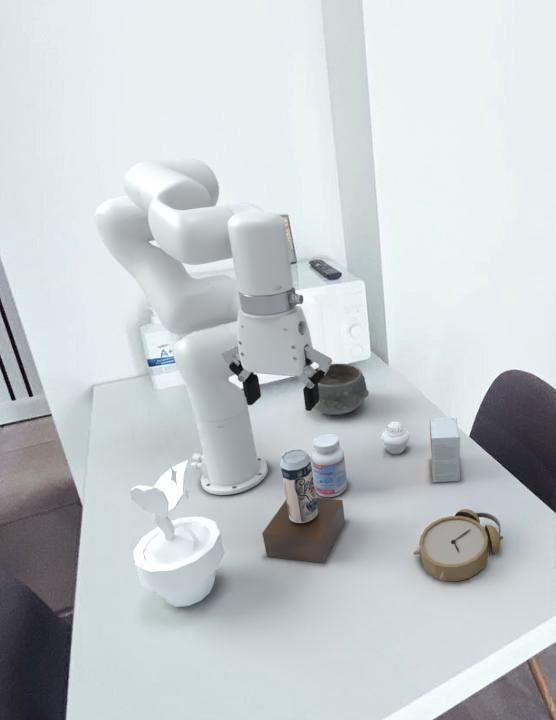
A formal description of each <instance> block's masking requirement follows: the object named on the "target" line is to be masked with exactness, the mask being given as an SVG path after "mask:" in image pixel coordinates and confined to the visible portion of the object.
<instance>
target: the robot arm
mask: <svg viewBox="0 0 556 720" xmlns="http://www.w3.org/2000/svg"><path fill="white" fill-rule="evenodd" d="M123 189H124V192H125V193H126V194H125V195H124V196H117V197H114V198H110V199H108V200H106V201H104V202H102V203H100V204H99V206H98V207H97V208H96V210H95V213H94V221H95V225H96V228H97V231H98V234H99V237H100V238H101V240H102V242H103V244H104V245H105V247H106V249H107V250H108V251H109V253H110V254H111V256H112V257H113V259H115V260H116V262H117V263H119V264H120V266H121V267H123V269H124V270H125V271H126V272H128V273H129V274H130V275H131V277H132V278H133V279H134V280H135V281H136V283H137V284H138V286H139V287H140V289H141V291H142V293H143V295H144V296H145V297H146V299H147V301H148V302H149V304H150V306H151V307H152V309H153V311H154V313H155V315H156V316H157V318H158V319H159V321H160V322H161V324H162V325H163V327H164V328H165V329H166V330H167V331H168V332H170V333H172V334H174V335H185V336H183V337H182V338H181V339H179V340H178V341H177V342H176V343H175V345H174V346H173V347H174V348H173V358H174V359H173V360H174V362H175V365H176V367H177V370H178V373H179V374H180V376H181V379H182V382H183V383H184V386H185V388H186V391H187V394H188V398H189V402H190V404H191V409H192V413H193V417H194V422H195V425H196V429H197V434H198V438H199V442H200V446H201V450H202V453H201V452H193V454H192V456H191V461H192V462H191V463H190V468H191V469H195V470H201V471H202V474H201V476H200V483H201V487H202V489H203V490H204V491H205V492H206V493H209V494H213V495H216V496H228V495H229V496H230V495H236V494H239V493H243V492H246V491H248V490H250V489H252V488H254V487H256V486H258V485H259V484H260V483H261V482H262V481H263V480H264V479H265V478H266V476H267V474H268V472H269V468H268V464H267V461H266V460H265V459H264V458H262V457H261V456H258V453H257V449H256V443H255V438H254V433H253V428H252V423H251V416H250V411H249V406H252V405H254V404H255V403H256V402H257V401H258V400H259V399H260V398H261V397H262V392H261V385H260V379H259V376H258V374H262V375H273V376H283V377H284V376H285V377H297V378H298V379H299V380H300V382H301V383H303V384H304V387H303V389H302V392H303V400H304V408H305V411H307V412H311V411H312V410H314V408H313V407H314V406H315V405H316V404H317V403H318V402H319V389H318V382H319V381H320V380H321V379H322V378H323V377H324V376H325V375H326V374H327V372H328V369H329V367H330V365H331V364H333V360H332V357H330V356H328V355H326V354H324V353H323V352H321V351H319V350H317V349H315V348H314V347H313V343H312V338H311V337H312V336H311V333H310V329H309V325H308V321H307V319H306V315H305V312H304V310H303V307H302V306H300V305H302V304H303V303H304V296H303V295H302V294H298V293H296V288H295V287H294V280H293V273H292V271H293V270H292V264H291V256H290V248H289V240H288V239H289V238H288V231H287V223H286V221H285V219H284V217H283V216H282V215H280V214H279V213H276V212H272V211H265V210H264V209H262V208H261V207H260V206H258V205H256V204H254V203H247V202H246V203H243V202H242V203H233V204H224V205H223V204H222V205H217V203H218V201H219V196H220V185H219V181H218V178H217V176H216V174H215V172H214V170H213V169H212V168H211V167H210V166H209V165H208V164H206V163H205V162H203V161H202V160H200V159H196V158H183V159H182V158H181V159H161V160H147V161H142V162H139V163H136V164H134V165H132V166H131V167H130V168H129V169H128V170H127V171H126V172H125V174H124V178H123ZM153 241H155V242H156V244H157V246H156V245H155V244H152V243H151V242H153ZM230 259H232V261H233V269H234V274H235V278H233V277H232V276H229V275H225V274H217V275H211V276H206V277H202V278H194V277H192V276H191V275H190V274H189V272H188V271H187V269H186V267H185V265H190V266H191V265H192V266H199V265H204V264H205V265H206V264H209V263H214V262H215V263H216V262H219V261H225V260H230ZM184 264H185V265H184ZM314 363H315V364H317V365H318V367H319V369H318V371H317V372H316V371H315V370H314V369H315V368H313V366H312V365H313V364H314ZM233 376H236V377H237V381H238V382H240V383H242V388H241V387H239V386H238V385H236V384H235V383H234V382H232V381H230V380H229V379H230V378H231V377H233ZM305 385H306V386H305Z"/></svg>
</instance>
